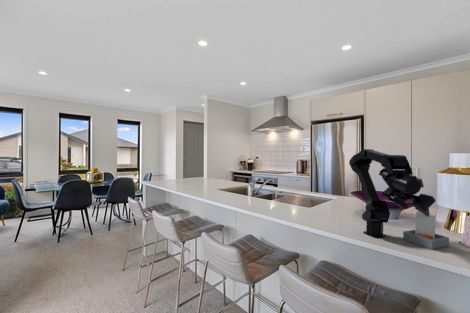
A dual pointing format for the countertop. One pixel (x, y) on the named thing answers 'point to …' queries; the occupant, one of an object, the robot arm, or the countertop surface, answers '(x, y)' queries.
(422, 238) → the tray
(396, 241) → the countertop surface
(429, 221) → the skincare box
